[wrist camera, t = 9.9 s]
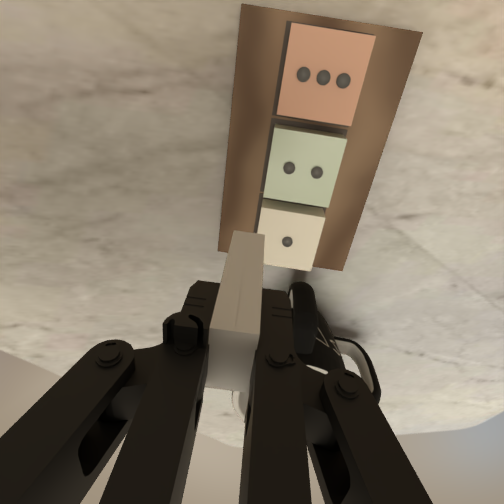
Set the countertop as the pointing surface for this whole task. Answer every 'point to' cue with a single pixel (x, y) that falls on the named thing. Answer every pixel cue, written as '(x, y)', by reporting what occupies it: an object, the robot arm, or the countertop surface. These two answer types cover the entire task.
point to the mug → (317, 345)
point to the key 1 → (290, 233)
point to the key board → (308, 124)
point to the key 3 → (324, 73)
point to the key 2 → (303, 165)
